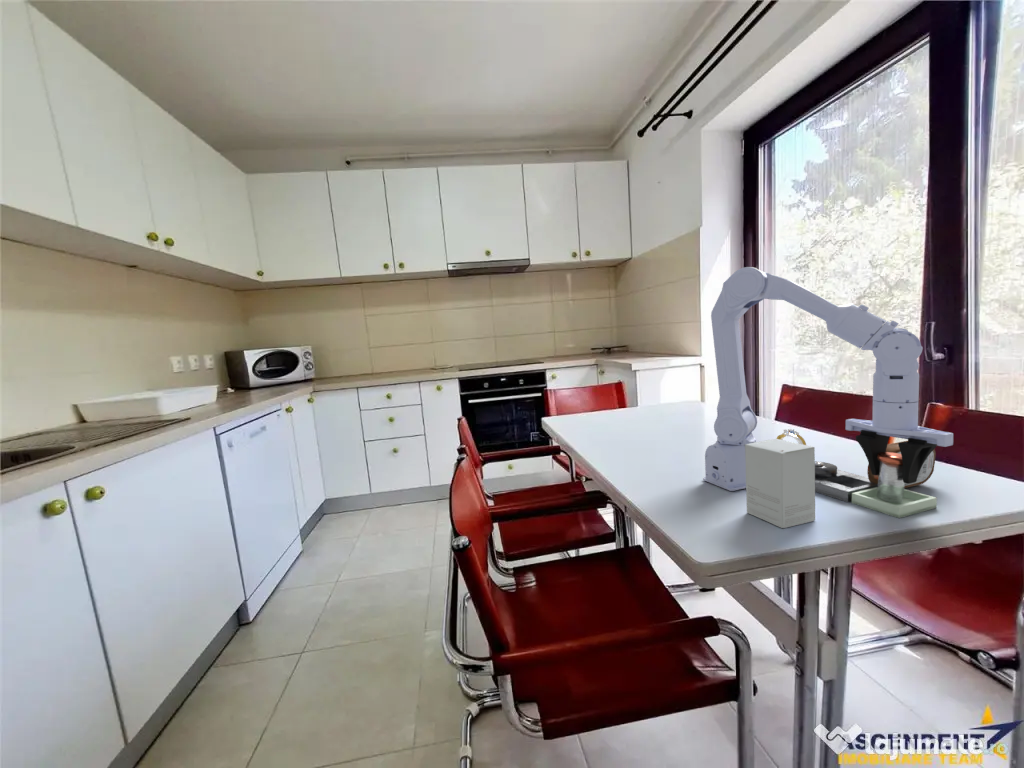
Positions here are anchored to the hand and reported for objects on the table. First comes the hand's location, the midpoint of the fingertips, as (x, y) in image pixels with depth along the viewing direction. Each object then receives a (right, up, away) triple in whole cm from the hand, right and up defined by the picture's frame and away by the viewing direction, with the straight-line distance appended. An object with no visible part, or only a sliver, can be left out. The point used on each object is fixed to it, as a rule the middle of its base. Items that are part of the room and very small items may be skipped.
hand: (893, 478), depth 72 cm
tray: (0, -5, 0) cm, 5 cm away
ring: (0, -3, +26) cm, 26 cm away
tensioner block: (-3, -4, +10) cm, 11 cm away
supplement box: (-20, -7, -1) cm, 21 cm away
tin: (+8, -3, +7) cm, 11 cm away
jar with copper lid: (0, -4, +1) cm, 4 cm away
